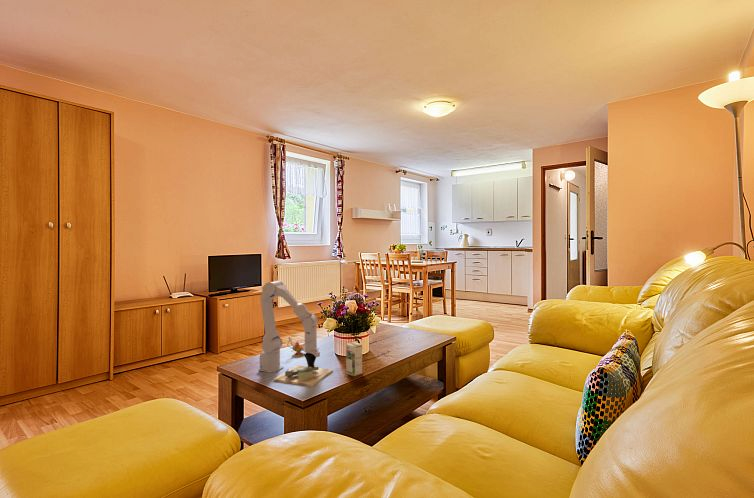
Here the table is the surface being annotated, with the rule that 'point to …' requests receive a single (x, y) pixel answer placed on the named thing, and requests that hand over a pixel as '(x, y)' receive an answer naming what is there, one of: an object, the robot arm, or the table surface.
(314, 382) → the pintle board
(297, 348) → the magic lamp
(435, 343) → the table surface
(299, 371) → the keeper
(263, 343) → the robot arm
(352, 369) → the syrup box
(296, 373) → the steel link
